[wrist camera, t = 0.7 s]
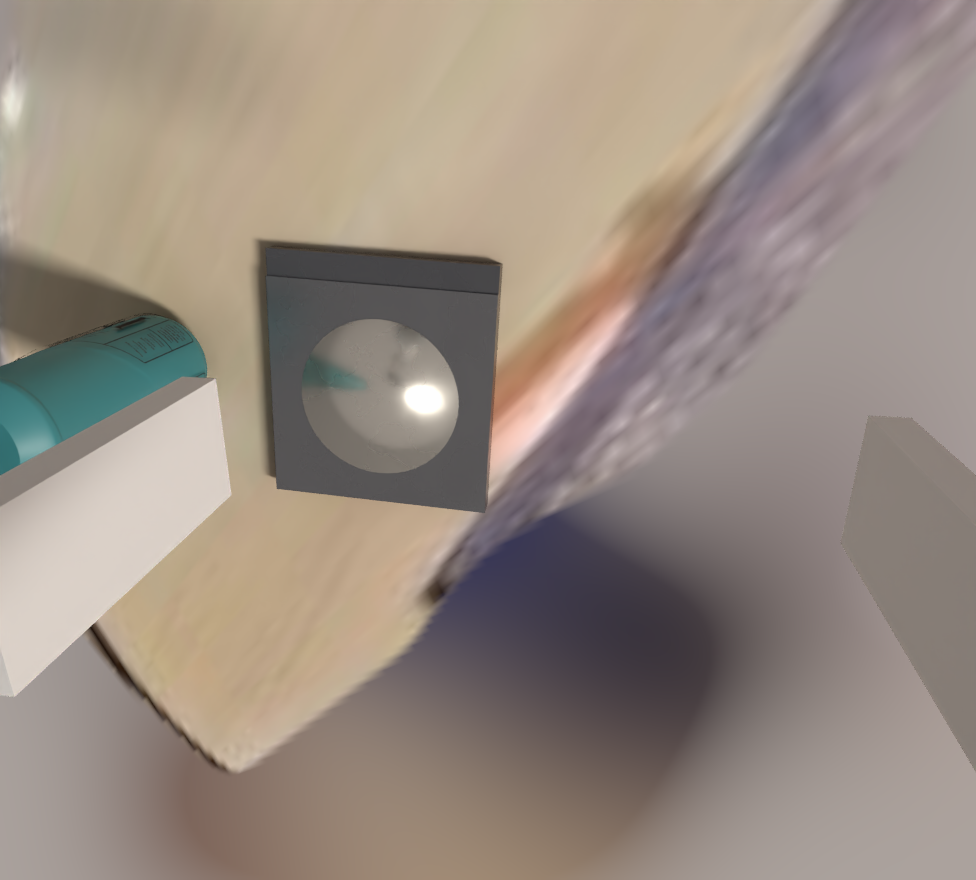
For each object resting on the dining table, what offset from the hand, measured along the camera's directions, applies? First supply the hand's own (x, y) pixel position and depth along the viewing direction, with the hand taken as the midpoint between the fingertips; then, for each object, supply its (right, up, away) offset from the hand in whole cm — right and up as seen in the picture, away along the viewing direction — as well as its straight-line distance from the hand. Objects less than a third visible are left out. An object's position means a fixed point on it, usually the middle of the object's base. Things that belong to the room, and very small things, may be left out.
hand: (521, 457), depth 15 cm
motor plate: (-7, +3, +32) cm, 33 cm away
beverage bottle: (-21, +6, +33) cm, 40 cm away
